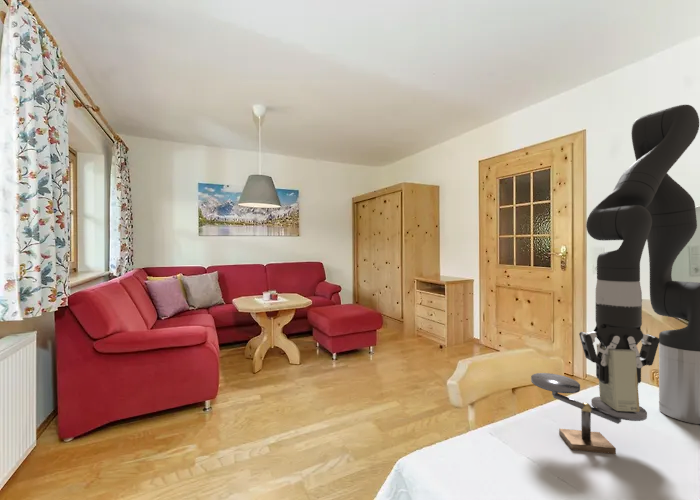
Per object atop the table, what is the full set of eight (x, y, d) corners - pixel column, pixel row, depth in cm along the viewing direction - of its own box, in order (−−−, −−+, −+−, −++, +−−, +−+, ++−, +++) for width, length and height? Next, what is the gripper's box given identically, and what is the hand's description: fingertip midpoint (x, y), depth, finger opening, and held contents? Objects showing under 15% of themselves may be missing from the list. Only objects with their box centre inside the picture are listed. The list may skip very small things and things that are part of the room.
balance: (629, 437, 73) (629, 378, 73) (658, 463, 64) (658, 396, 64) (525, 427, 77) (525, 371, 77) (539, 450, 68) (539, 387, 68)
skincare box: (640, 413, 66) (638, 351, 66) (615, 411, 67) (613, 351, 67) (620, 399, 72) (618, 343, 72) (597, 398, 73) (595, 342, 73)
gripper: (645, 300, 71) (645, 379, 71) (571, 298, 74) (571, 374, 74) (671, 306, 64) (671, 393, 64) (588, 303, 67) (588, 388, 67)
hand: (618, 382), depth 69 cm, fingers open, 5 cm apart
